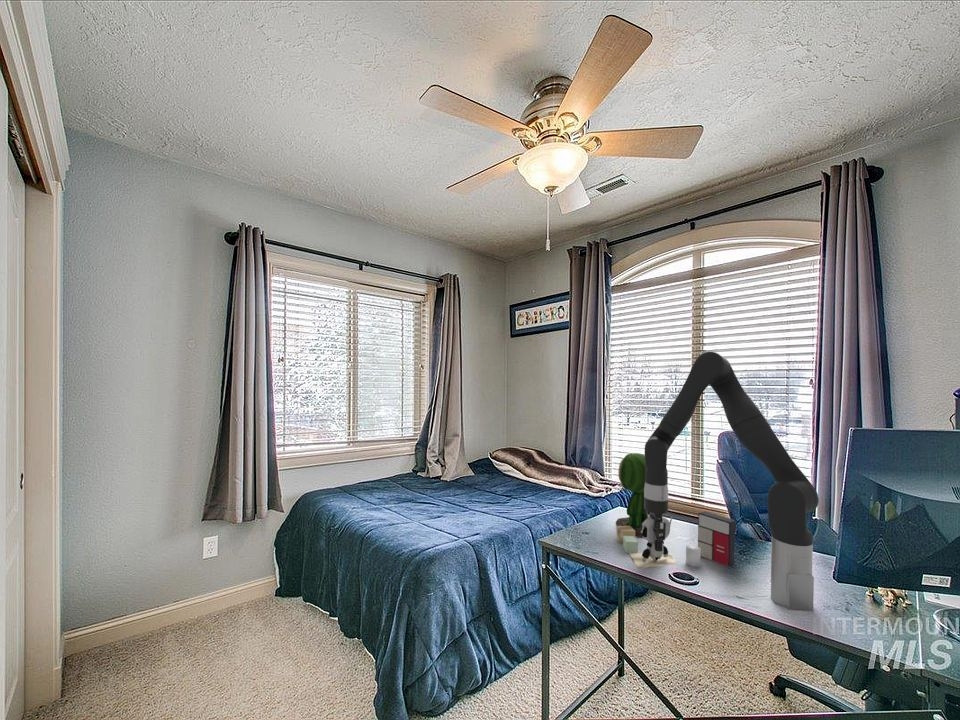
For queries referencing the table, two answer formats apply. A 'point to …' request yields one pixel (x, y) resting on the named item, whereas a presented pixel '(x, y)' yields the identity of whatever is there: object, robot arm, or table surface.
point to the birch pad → (651, 561)
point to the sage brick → (630, 544)
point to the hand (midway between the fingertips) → (655, 546)
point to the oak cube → (624, 532)
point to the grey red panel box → (716, 537)
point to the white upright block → (693, 555)
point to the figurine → (633, 490)
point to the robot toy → (653, 540)
